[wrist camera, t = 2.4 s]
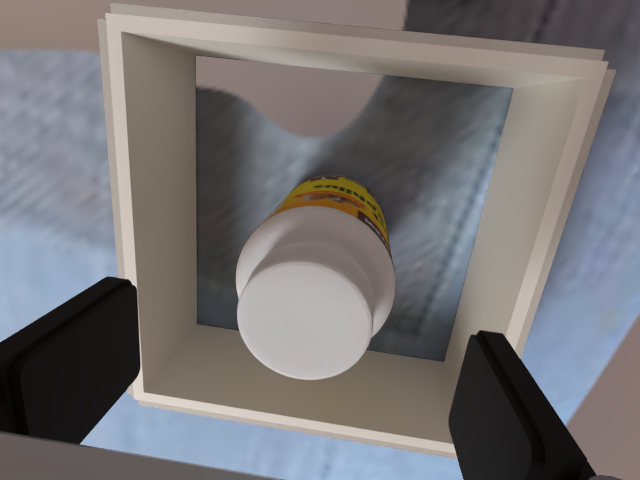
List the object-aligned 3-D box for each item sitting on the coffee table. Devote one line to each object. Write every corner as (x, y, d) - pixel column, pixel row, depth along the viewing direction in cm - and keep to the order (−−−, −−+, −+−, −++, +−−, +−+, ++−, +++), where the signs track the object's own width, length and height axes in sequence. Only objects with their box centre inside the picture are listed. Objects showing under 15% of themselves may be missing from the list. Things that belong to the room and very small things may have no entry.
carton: (179, 35, 18) (95, 1, 13) (536, 70, 17) (623, 51, 11) (184, 333, 24) (128, 403, 18) (454, 375, 23) (485, 464, 17)
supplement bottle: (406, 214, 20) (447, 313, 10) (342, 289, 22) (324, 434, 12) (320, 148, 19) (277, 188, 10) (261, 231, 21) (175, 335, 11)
